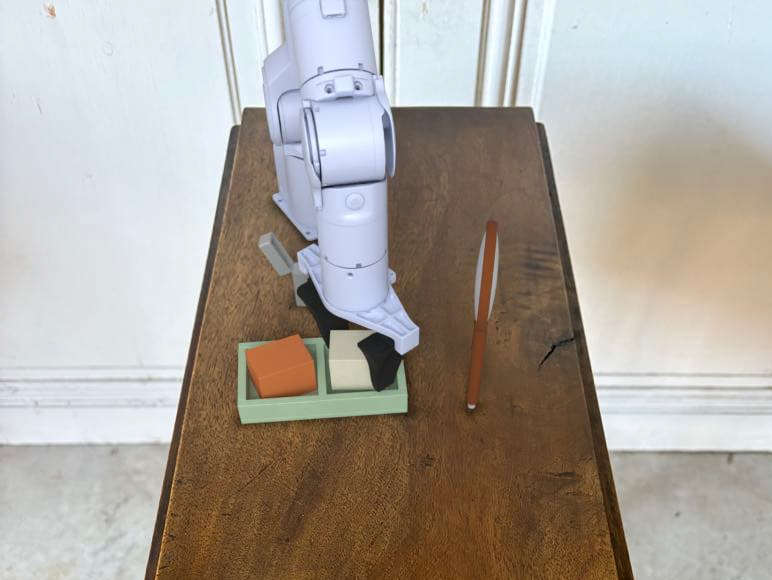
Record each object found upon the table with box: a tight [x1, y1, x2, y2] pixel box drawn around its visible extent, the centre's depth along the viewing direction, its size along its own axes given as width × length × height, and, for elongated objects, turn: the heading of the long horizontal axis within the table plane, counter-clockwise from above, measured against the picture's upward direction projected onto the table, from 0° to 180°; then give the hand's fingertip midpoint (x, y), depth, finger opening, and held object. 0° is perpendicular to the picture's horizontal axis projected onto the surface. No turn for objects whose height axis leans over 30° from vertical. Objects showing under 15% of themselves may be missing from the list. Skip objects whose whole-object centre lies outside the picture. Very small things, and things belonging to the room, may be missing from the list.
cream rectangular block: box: [329, 329, 388, 390], centre depth 77 cm, size 6×4×4 cm
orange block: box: [245, 333, 317, 399], centre depth 77 cm, size 6×4×4 cm
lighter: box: [258, 231, 309, 308], centre depth 82 cm, size 7×2×8 cm, turn 87°
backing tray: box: [236, 337, 409, 425], centre depth 78 cm, size 8×16×2 cm, turn 96°
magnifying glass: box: [465, 219, 500, 410], centre depth 69 cm, size 9×2×20 cm, turn 173°
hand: (360, 364), depth 77 cm, fingers closed on cream rectangular block, 7 cm apart
